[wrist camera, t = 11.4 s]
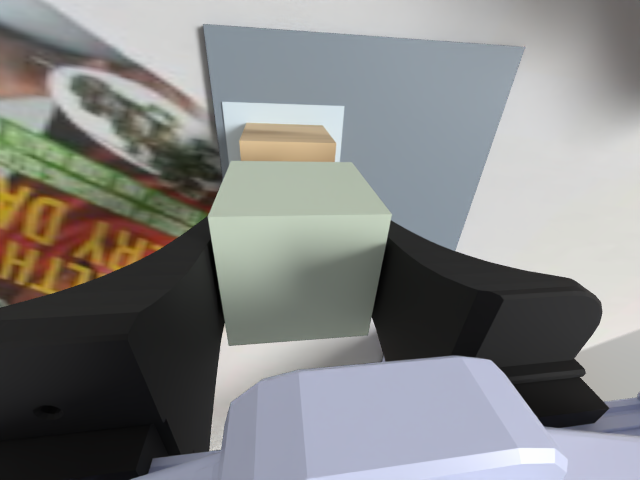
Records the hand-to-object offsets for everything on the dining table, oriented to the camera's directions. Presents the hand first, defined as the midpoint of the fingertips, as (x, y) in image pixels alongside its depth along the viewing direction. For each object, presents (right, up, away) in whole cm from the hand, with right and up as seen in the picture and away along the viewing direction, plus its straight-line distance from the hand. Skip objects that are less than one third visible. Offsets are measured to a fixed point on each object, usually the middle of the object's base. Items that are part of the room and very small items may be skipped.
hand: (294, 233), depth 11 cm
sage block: (0, +1, +1) cm, 1 cm away
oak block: (-1, +5, +7) cm, 9 cm away
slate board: (+4, +3, +10) cm, 11 cm away
